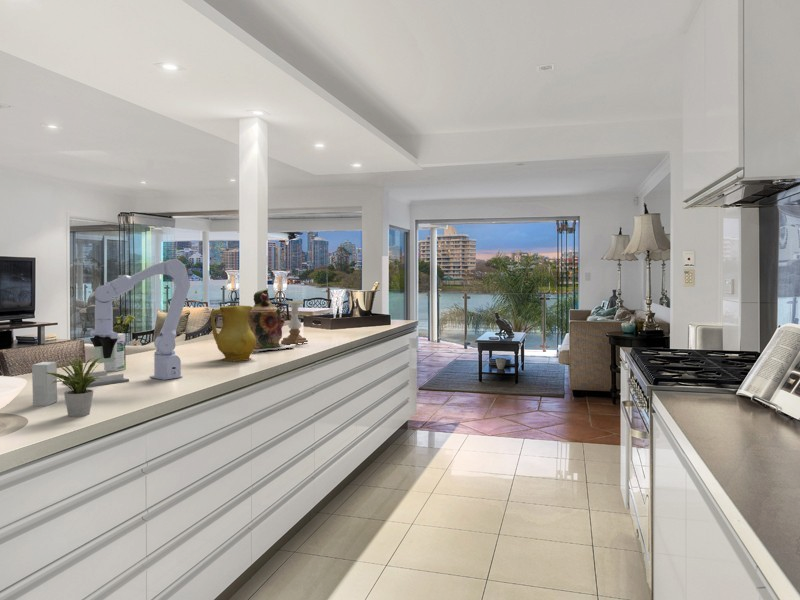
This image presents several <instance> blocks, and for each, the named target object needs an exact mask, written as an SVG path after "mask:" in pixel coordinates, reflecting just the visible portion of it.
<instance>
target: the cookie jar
mask: <svg viewBox="0 0 800 600" xmlns="http://www.w3.org/2000/svg"><path fill="white" fill-rule="evenodd" d="M269 296H270V295H269V287H266V289H262V290H259V291H256V292H255V293H254V294H253V302H254V305H253V306H252V307H253V308H252V309H251V311H250V312H249V315H248V324H249V327H250V329H251V331H252V332H253V334H254V336H255V338H256V346H255V347H254V349H253V351H254V352H253V353H259V352H263V351H264V352H265V351H268V350H272V351H277V350H278V349H279V350H287V349H286V348H289V349H290V348H292V349H294V348H295V346H296V345H287V344H281V343H280V342H281V339H283V327H284V324H285V322H286V321H285V319H283V315H281V313H282V312H281V310H280V308H277V307H276V306H275V305H274V304H272V302H271V301H270V297H269ZM293 347H294V348H293Z"/></svg>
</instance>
